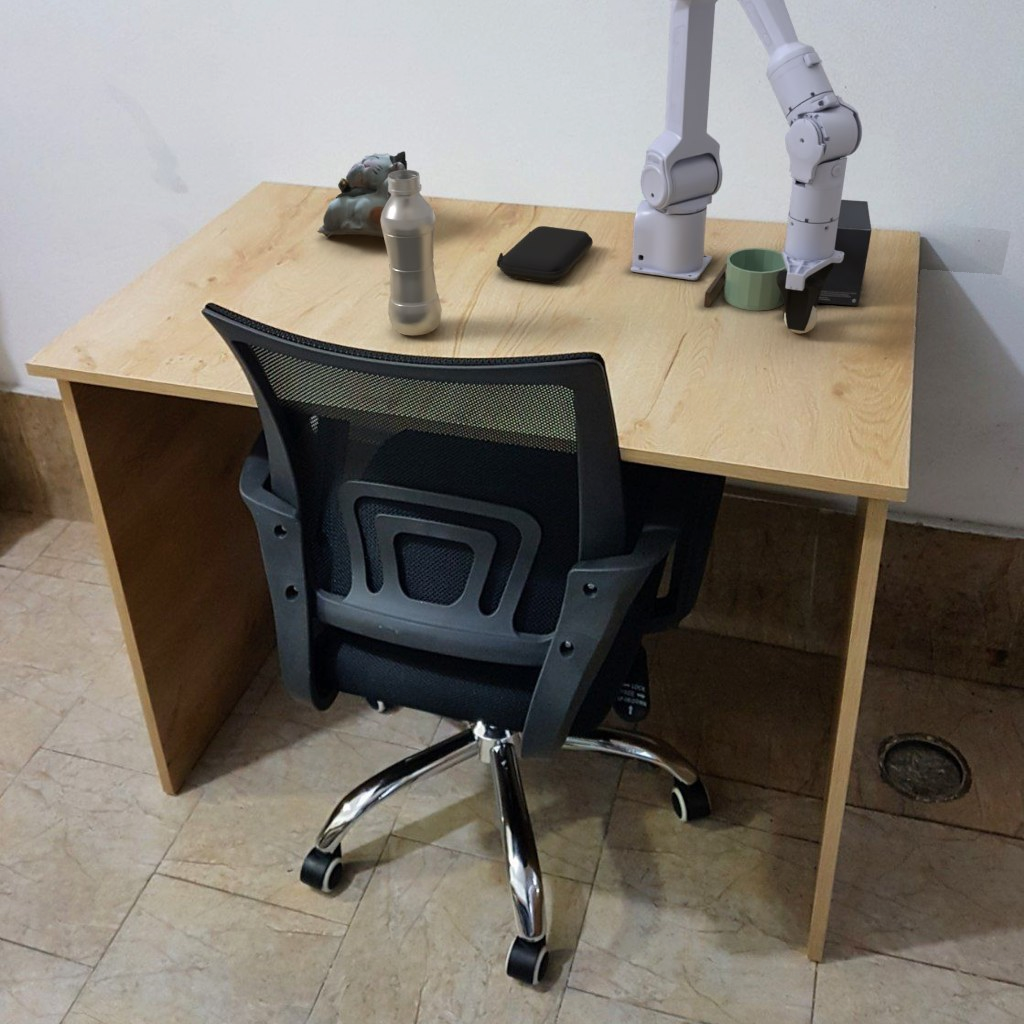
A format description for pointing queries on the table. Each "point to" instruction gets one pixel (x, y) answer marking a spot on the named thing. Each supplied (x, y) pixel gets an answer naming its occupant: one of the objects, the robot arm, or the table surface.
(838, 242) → the small box
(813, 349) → the table surface
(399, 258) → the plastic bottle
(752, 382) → the table surface
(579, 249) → the carrying case
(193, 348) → the table surface
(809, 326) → the off-white sphere
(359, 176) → the lucky cat figurine
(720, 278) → the bar
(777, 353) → the table surface
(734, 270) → the waste bin
